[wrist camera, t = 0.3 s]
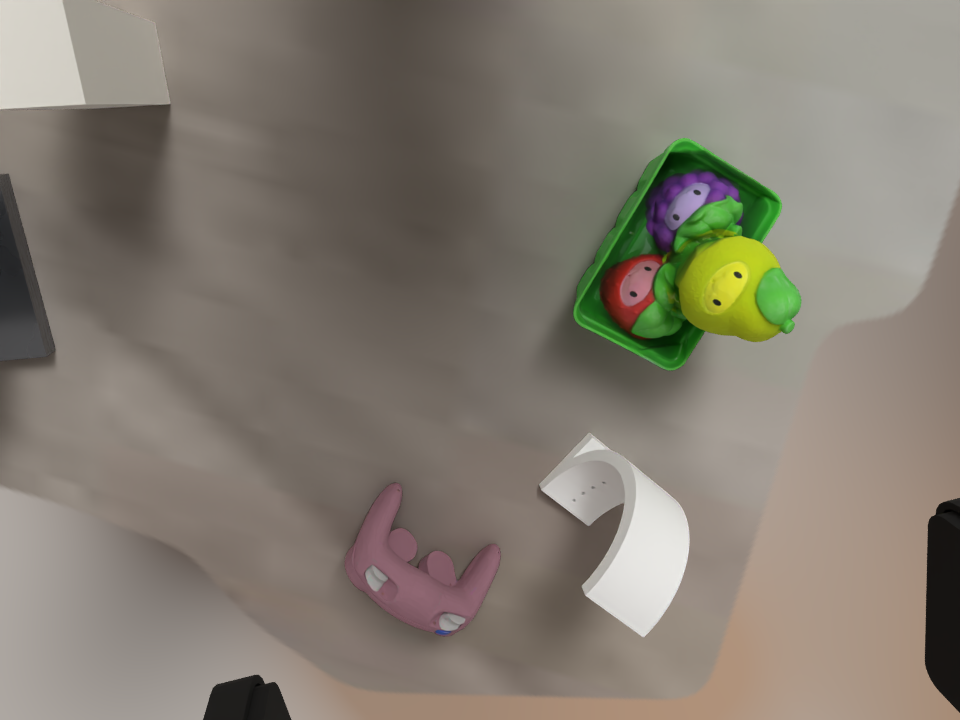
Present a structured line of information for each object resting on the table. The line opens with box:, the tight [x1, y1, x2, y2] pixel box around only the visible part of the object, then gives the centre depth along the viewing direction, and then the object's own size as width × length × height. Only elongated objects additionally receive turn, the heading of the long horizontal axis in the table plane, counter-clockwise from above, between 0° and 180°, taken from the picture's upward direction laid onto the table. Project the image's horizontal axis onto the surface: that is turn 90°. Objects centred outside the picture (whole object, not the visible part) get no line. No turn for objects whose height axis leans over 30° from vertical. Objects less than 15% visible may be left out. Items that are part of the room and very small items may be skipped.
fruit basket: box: [573, 138, 801, 371], centre depth 40 cm, size 11×9×11 cm
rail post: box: [0, 0, 171, 110], centre depth 33 cm, size 4×4×12 cm
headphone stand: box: [539, 432, 689, 637], centre depth 44 cm, size 5×6×12 cm
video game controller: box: [345, 483, 501, 636], centre depth 48 cm, size 10×5×7 cm, turn 51°
